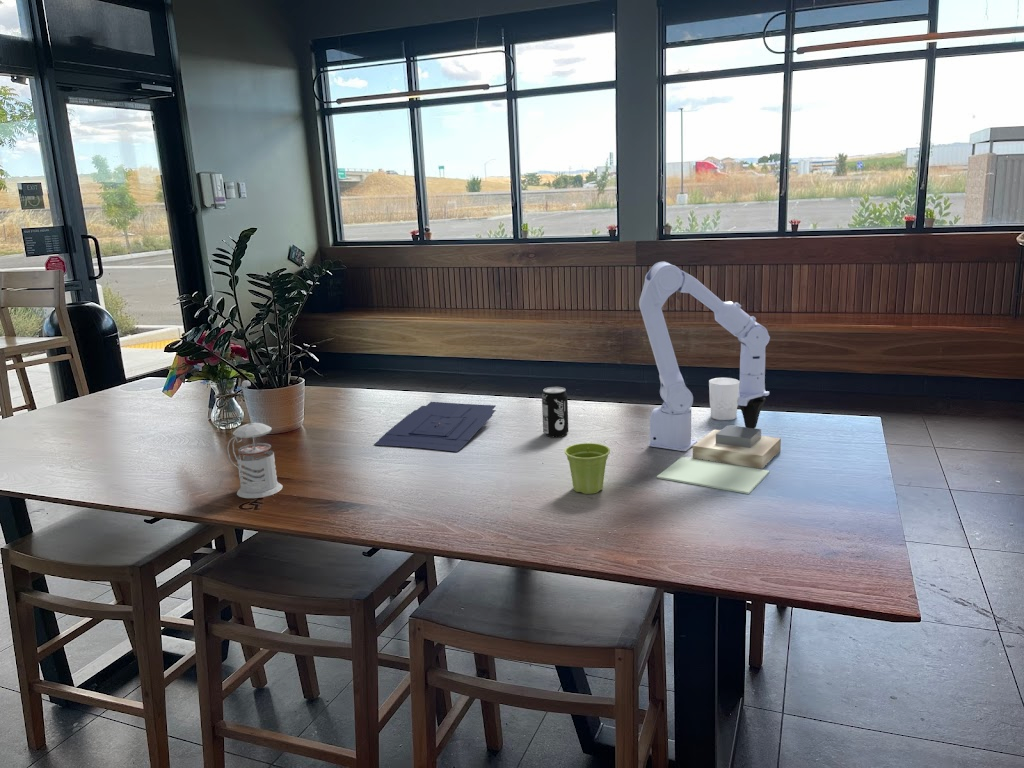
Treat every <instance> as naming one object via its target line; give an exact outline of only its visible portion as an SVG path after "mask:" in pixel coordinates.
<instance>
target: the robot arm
mask: <svg viewBox="0 0 1024 768" xmlns="http://www.w3.org/2000/svg"><path fill="white" fill-rule="evenodd" d="M676 292H678V293H683V294H689V295H691V296H692V297H694V298H695V299H696V300H697V301H698V302H700V303H702V304H703V305H704V306H706V307H707V308H708V309H709V310H711V311H712V312H713V313H714V314H713V315H714V320H715V322H717V323H718V324H719V325H720V326H721V327H723V329H725V330H726V331H727V332H729V333H731V335H733V336H734V337H737V340H738V341H739V342H740V354H739V355H740V356H739V358H740V359H739V381H740V383H739V391H738V394H739V397H738V400H737V402H738V407H739V409H740V410H741V414H742V418H743V422H744V427H747V428H755V429H757V428H756V427H757V425H758V421H759V418H760V417H759V416H760V415H761V410H762V408H763V406H764V404H765V402H766V397H767V396H768V397H769V395H770V390H769V391H768V390H767V391H766V383H765V381H766V380H765V379H766V376H765V375H766V346H767V345H768V344H769V342H770V340H771V336H770V335H769V332H768V329H767V327H765V326H764V325H762V324H760V323H759V322H757V318H756V317H755V316H754V315H752V316H750V315H749V314H748V313H747V312H746V311H744V310H743V309H742V308H741V307H742V305H741V304H740V303H739V302H733V301H731V300H728V301H723V300H721V299H720V297H718V296H717V295H716V294H714V293H713V292H712V291H711V290H710V289H709V288H708V287H706V286H705V285H704V284H703V283H702V282H700V281H699V280H698V278H695V276H693V275H691V274H689V273H688V272H686V271H684V270H682V269H680V268H679V267H678V266H676V265H673V264H671V263H669V262H667V261H659V262H656V263H654V264H653V265H652V266H651V268H650V269H649V270H648V272H647V273H646V274H645V276H644V283H643V286H642V291H641V294H640V297H639V300H638V306H639V309H640V313H641V316H642V321H643V323H644V326H645V331H646V334H647V336H648V340H649V344H650V346H651V350H652V354H653V357H654V360H655V365H656V367H657V370H658V373H659V375H658V377H659V381H660V389H659V394H660V397H661V398H660V399H662V401H663V403H662V404H661V406H660V407H655V408H653V410H652V411H651V413H650V418H649V443H648V446H649V447H654V448H659V449H665V450H666V449H667V450H673V451H678V452H679V451H680V452H686V451H688V450H689V449H691V448H693V445H694V444H696V443H697V442H698V440H697V439H692V406H693V404H694V396H693V393H692V392H691V390H690V389H689V388H688V387H687V385H686V384H685V380H684V378H683V375H682V373H681V371H680V370H681V369H680V367H679V364H678V360H677V357H676V354H675V350H674V347H673V344H672V341H671V337H670V334H669V330H668V326H667V322H666V319H665V316H664V313H663V309H662V308H663V306H664V304H665V303H666V302H667V301H668V299H669V297H670V296H672V294H674V293H676Z"/></svg>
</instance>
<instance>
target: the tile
mask: <svg viewBox="0 0 1024 768" xmlns="http://www.w3.org/2000/svg"><path fill="white" fill-rule="evenodd" d="M720 430H721V431H719V432H718V433H717V434H716V443H718V444H725V445H732V446H739V447H746V448H751V447H752V446H753V445H754V444H755V443H756V442H757V441H759V440H760V439H761V436H762V429H761V428H747V427H745V426H740V425H739V426H738V425H730V424H727V425H726V426H724V427H723V428H722V429H720Z"/></svg>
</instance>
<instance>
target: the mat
mask: <svg viewBox="0 0 1024 768" xmlns="http://www.w3.org/2000/svg"><path fill="white" fill-rule="evenodd" d="M769 474H770V470H767V469H760V468H753V467H747V466H740V465H734V464H727V463H721V462H715V461H708V460H702V459H695V458H692V457H691V458H689V457H683V456H681V457H679V458H678V459H677V460H676V461H675V462H673V463H672V464H671V465H669V466H668V467H667V468H665V469H664V470H663V471H662V472H661V473H659V474H658V475H657V476H656V478H657V479H661V480H666V481H672V482H679V483H684V484H690V485H694V486H695V485H696V486H700V487H707V488H712V489H718V490H723V491H729V492H734V493H741V494H747V495H749V494H751V492H752V491H754V489H755V488H757V486H759V484H760V483H761V482H762V481H763V480H764V479H765V478H766V477H767V476H768V475H769Z"/></svg>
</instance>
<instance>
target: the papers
mask: <svg viewBox="0 0 1024 768" xmlns="http://www.w3.org/2000/svg"><path fill="white" fill-rule="evenodd" d="M496 407H497V405H493V404H492V405H491V404H473V403H456V402H440V401H430V402H429V403H427V405H421V406H420V407H419V408H417V409H414V410H413V411H412V412H411V413H409V414H408V415H406V416H404V418H402V419H401V420H400V421H399V422H397V423H396V424H395V425H394V426H393V427H391V428H390V429H388V431H386V432H385V434H383V435H382V436H380V438H379V439H378V440H377V441H376V442H375V443H374V444H373V445H375V446H389V447H406V448H407V447H408V448H418V449H419V448H420V449H428V450H429V449H430V450H438V451H446V452H447V451H448V452H454V453H455V452H459V451H460V450H461V449H462V448H463V447H465V446H466V444H468V442H469V441H470V440H471V438H473V437H474V435H476V433H477V432H478V431H479V430H480V429H481V428H482V427H483V426H484V425H485V424H486V423H487V422H488V421H490V419H491V418H492V417H493V416H494V415H493V414H494V413H495V412H496V411H497V410H496V409H495V408H496Z"/></svg>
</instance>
